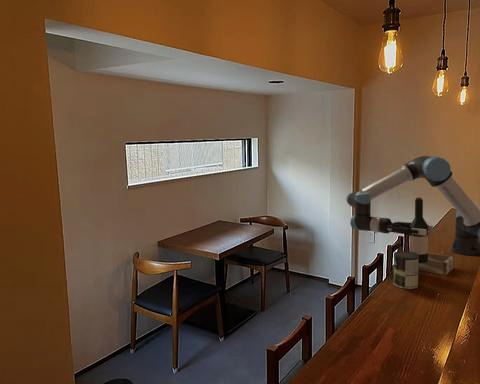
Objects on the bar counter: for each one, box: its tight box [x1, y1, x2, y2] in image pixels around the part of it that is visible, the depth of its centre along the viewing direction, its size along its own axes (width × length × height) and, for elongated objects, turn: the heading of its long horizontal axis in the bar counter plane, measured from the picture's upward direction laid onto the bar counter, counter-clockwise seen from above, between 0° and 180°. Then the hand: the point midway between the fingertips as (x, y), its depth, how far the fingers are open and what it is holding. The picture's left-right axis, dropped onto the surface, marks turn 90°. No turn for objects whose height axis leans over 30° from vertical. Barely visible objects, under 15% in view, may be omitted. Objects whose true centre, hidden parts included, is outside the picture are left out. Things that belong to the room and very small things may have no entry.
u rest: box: [418, 251, 455, 276], centre depth 194 cm, size 12×12×6 cm
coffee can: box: [392, 250, 419, 290], centre depth 175 cm, size 10×10×14 cm
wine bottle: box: [408, 197, 429, 264], centre depth 185 cm, size 8×8×30 cm
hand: (429, 230), depth 181 cm, fingers closed on wine bottle, 8 cm apart
